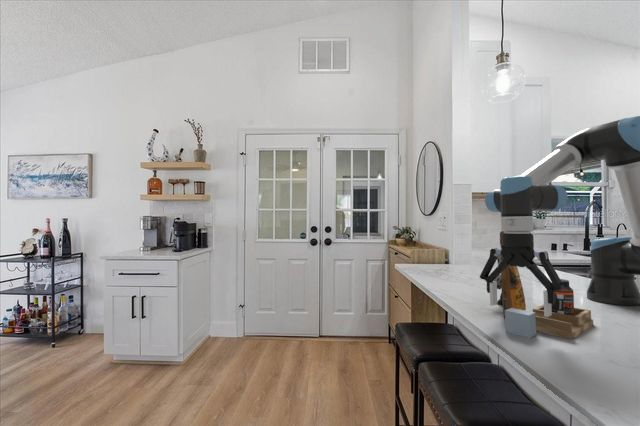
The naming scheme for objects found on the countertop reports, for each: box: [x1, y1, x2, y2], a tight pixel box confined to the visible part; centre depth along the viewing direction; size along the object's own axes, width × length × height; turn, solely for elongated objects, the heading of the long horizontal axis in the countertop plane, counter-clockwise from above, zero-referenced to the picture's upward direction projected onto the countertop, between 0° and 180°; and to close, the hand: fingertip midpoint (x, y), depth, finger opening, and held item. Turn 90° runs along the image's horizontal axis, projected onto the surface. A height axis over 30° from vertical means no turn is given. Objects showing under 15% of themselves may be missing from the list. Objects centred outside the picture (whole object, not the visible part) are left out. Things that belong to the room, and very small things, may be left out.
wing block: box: [504, 308, 537, 339], centre depth 88 cm, size 4×6×6 cm, turn 36°
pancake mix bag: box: [499, 230, 527, 319], centre depth 104 cm, size 7×19×28 cm, turn 141°
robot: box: [493, 248, 503, 307], centre depth 117 cm, size 20×5×20 cm, turn 137°
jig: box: [532, 303, 594, 340], centre depth 93 cm, size 18×12×4 cm, turn 126°
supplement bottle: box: [551, 278, 575, 316], centre depth 95 cm, size 6×6×11 cm
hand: (519, 310), depth 88 cm, fingers open, 13 cm apart
